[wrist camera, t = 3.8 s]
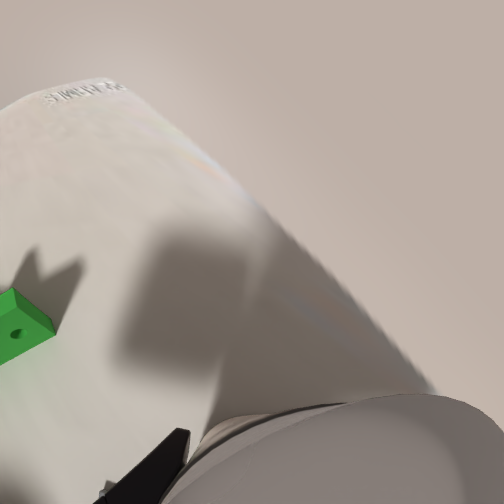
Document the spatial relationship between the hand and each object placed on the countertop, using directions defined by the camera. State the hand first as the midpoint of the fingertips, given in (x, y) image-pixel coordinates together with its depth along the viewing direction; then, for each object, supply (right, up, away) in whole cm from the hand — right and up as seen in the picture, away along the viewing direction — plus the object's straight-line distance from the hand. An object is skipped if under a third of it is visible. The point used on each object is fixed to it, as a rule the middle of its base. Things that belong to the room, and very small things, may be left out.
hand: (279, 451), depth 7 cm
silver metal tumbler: (-1, -5, +5) cm, 7 cm away
